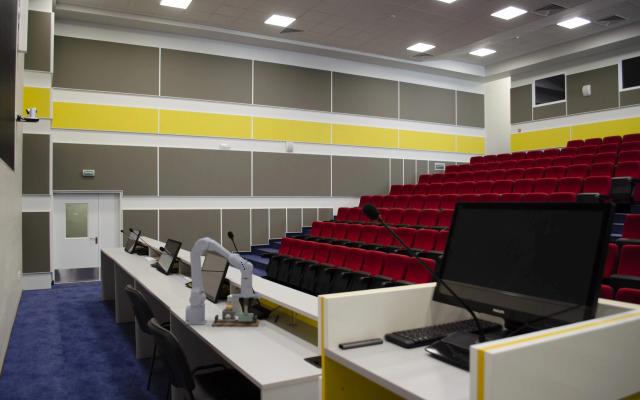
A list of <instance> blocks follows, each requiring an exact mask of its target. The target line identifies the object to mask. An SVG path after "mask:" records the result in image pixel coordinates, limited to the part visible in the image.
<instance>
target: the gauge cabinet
mask: <svg viewBox="0 0 640 400" xmlns="http://www.w3.org/2000/svg"><path fill="white" fill-rule="evenodd" d="M221 314H222V316H221V317H222V319H236V315H235V309H232V310H226V308H223V309H222V312H221Z"/></svg>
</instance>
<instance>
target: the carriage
mask: <svg viewBox="0 0 640 400" xmlns="http://www.w3.org/2000/svg"><path fill="white" fill-rule="evenodd" d="M237 319H238V321H252V320H254V313H252V312H251V313H250V312H249V313H248V304H247V305H245V304H244V313H240V314H239V316H238V317H237Z"/></svg>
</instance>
